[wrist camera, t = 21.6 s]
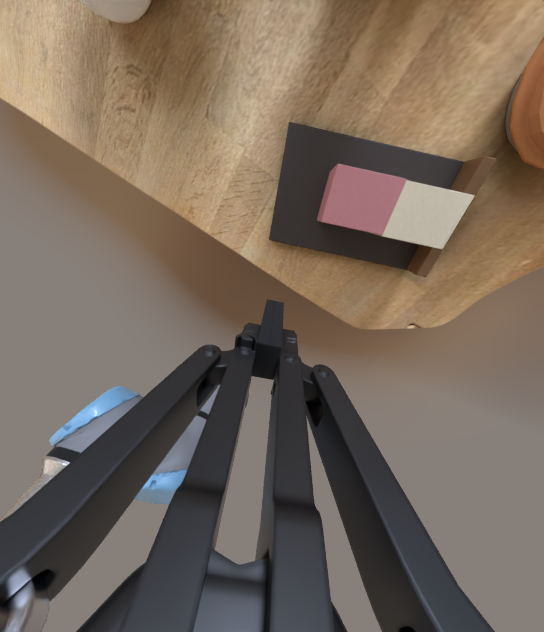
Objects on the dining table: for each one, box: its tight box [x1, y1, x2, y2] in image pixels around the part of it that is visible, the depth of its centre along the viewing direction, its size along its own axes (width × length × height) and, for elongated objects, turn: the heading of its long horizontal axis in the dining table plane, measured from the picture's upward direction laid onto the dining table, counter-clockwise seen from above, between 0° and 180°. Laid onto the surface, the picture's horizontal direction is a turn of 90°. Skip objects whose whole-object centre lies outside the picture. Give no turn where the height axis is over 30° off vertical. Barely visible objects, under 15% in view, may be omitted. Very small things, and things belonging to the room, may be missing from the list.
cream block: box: [369, 180, 475, 249], centre depth 25 cm, size 6×8×5 cm
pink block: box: [317, 164, 407, 235], centre depth 25 cm, size 6×8×5 cm
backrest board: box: [269, 122, 497, 277], centre depth 27 cm, size 14×24×4 cm, turn 79°
